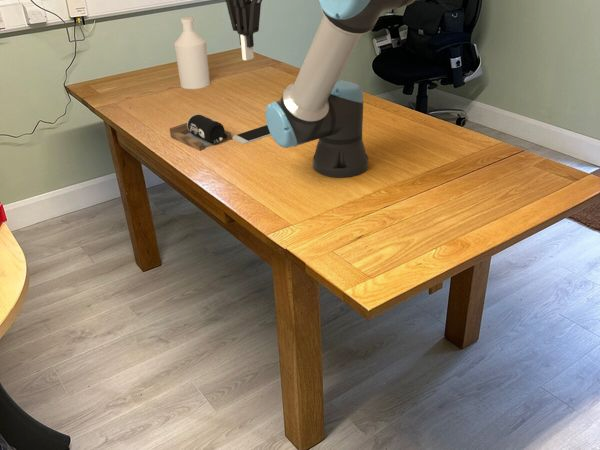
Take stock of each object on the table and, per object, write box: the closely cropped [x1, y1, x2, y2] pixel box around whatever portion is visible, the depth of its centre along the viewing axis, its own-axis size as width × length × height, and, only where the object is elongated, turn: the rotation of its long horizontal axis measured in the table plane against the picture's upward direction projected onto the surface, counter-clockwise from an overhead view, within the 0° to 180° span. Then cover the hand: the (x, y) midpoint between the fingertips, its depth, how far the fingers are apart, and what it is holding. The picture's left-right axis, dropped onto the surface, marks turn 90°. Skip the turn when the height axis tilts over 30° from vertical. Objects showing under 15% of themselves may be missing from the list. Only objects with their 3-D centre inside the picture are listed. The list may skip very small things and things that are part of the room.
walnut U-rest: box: [169, 122, 233, 151], centre depth 181 cm, size 16×12×3 cm
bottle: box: [173, 16, 211, 90], centre depth 223 cm, size 12×12×25 cm
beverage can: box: [186, 114, 226, 145], centre depth 179 cm, size 7×7×12 cm
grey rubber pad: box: [186, 133, 226, 149], centre depth 181 cm, size 12×8×1 cm
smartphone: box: [231, 124, 272, 145], centre depth 183 cm, size 7×15×1 cm, turn 130°
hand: (248, 58), depth 157 cm, fingers closed
